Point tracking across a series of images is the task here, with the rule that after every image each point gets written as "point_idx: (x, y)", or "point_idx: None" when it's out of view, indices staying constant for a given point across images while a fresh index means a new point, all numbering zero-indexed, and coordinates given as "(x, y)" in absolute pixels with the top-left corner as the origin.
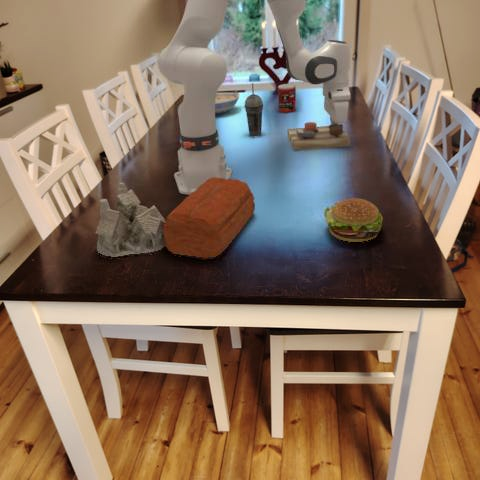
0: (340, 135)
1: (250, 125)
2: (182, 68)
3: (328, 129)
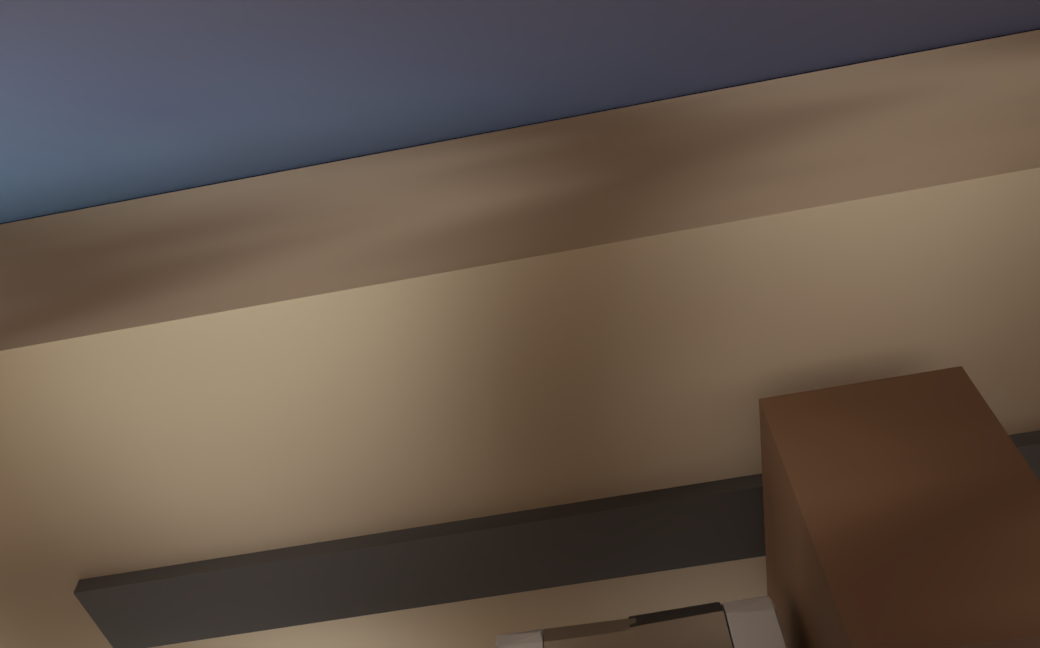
0: None
1: None
2: None
3: (315, 639)
